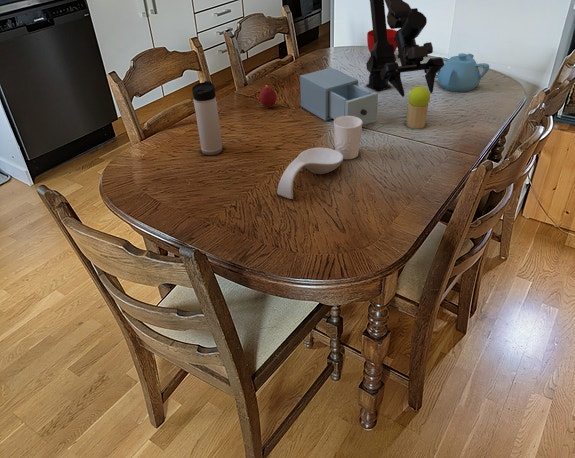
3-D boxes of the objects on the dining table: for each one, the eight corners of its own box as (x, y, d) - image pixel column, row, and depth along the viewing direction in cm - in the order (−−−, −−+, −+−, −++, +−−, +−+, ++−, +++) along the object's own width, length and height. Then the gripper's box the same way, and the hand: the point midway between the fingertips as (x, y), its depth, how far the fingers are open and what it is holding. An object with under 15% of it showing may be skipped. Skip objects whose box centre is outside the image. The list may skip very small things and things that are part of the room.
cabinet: (356, 111, 166) (358, 79, 160) (325, 121, 161) (325, 88, 155) (331, 97, 177) (331, 67, 170) (300, 106, 172) (300, 75, 165)
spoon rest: (314, 154, 144) (314, 131, 140) (350, 164, 138) (351, 141, 134) (266, 192, 129) (264, 168, 124) (304, 205, 123) (304, 180, 119)
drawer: (378, 121, 157) (380, 94, 152) (349, 131, 153) (350, 103, 147) (350, 106, 168) (351, 80, 162) (321, 114, 163) (321, 88, 158)
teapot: (492, 88, 177) (498, 57, 170) (449, 96, 173) (454, 64, 167) (467, 74, 189) (472, 44, 182) (426, 81, 185) (430, 51, 178)
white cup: (364, 150, 145) (366, 118, 139) (355, 162, 139) (357, 129, 133) (338, 145, 148) (339, 114, 141) (329, 157, 142) (329, 125, 136)
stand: (416, 119, 160) (418, 98, 156) (429, 125, 156) (432, 104, 152) (402, 123, 158) (404, 102, 153) (415, 130, 153) (418, 109, 149)
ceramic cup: (364, 66, 200) (366, 40, 194) (366, 52, 214) (367, 28, 208) (397, 66, 198) (400, 41, 192) (397, 53, 212) (399, 28, 206)
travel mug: (226, 146, 150) (218, 81, 138) (217, 156, 145) (208, 90, 133) (208, 143, 152) (198, 79, 140) (198, 154, 147) (187, 88, 135)
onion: (277, 104, 174) (276, 82, 169) (276, 111, 169) (274, 88, 164) (261, 104, 174) (259, 82, 169) (259, 111, 170) (257, 88, 165)
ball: (418, 101, 157) (420, 81, 153) (433, 107, 152) (436, 87, 148) (402, 106, 154) (405, 86, 150) (417, 113, 150) (420, 92, 146)
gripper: (386, 36, 145) (397, 86, 143) (446, 29, 147) (458, 78, 145) (375, 55, 156) (385, 102, 154) (431, 49, 158) (441, 95, 156)
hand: (417, 94), depth 152 cm, fingers open, 9 cm apart
